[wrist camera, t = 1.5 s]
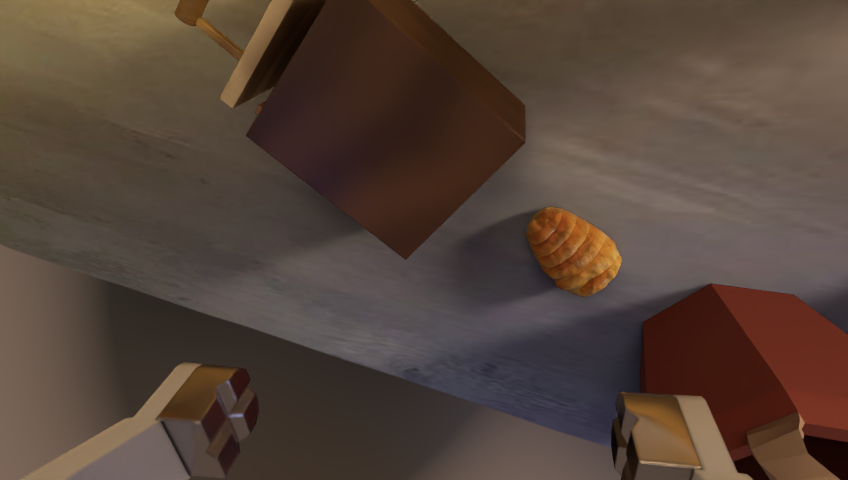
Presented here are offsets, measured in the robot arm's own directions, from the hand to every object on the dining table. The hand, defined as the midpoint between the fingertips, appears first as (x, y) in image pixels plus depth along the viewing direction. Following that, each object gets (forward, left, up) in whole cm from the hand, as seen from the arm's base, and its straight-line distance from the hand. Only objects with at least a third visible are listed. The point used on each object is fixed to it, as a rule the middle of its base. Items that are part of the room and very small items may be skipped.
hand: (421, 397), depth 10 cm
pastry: (+7, +17, -35) cm, 39 cm away
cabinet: (+7, -4, -35) cm, 35 cm away
